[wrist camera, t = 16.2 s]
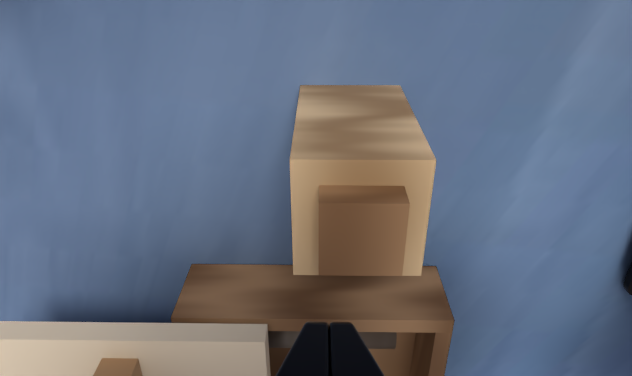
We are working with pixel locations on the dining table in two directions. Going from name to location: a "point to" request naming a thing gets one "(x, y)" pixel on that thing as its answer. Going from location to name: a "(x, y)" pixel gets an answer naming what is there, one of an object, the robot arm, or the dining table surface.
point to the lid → (133, 349)
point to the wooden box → (328, 310)
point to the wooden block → (359, 182)
